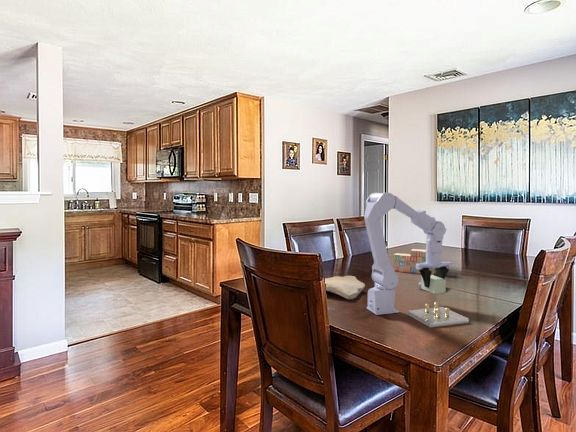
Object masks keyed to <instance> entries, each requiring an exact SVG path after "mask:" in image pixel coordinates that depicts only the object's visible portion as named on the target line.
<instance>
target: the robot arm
mask: <svg viewBox="0 0 576 432" xmlns="http://www.w3.org/2000/svg"><path fill="white" fill-rule="evenodd" d="M365 202H366V206H365V207H366V208H365V212H364V216H363V218H364V219H363V220H364V223H365V228H366V232H367V236H368V241H369V245H370V249H371V250H370V251H371V254H372V258H373V264H372V265H371V269H372V272H371V280H372V281H373V282H374V287H372V288H369V289H368V290H367V306H366V309H367V310H368V311H370V312H371V313H373V314H375V315H377V316H378V315H380V316H381V315H389V314H390V315H391V314H395V313H396V314H399V313H400V311H399V310H398V309H396V308H395V300H396V299H395V297H396V296H395V294H396V292H395V291H396V287H397V286H398V284H399V282H400V279H399V276H398V274H397V272H396V271H395V270H394V266H393V264H392V263H391V262H390V259H389V254H388V251H387V250H388V249H387V245H386V241H385V237H384V236H385V235H384V231H383V227H382V223H381V220H382V218H383V217H384V216H385V215H386V214H387V213H388V212H390V211H391V210H395V211H397V212H399V213H401V214H403V215H404V216H406V217H408V218H410V222H411V224H413V225H415V226H417V227H418V228H419V229H421V230H423V233H424V234H426V235H425V236H426V240H425V242H426V243H425V244H426V246H425V250H426V262H424V263H418V264H416V269H419V271H420V273H421V274H420V275H421V276H422V278H423V281H424V286H425V287H427V288H429V287H430V277H431V273H432V271H430V270H429V268H435V276H437V277H440V278H443V279H446V278H445V277H446V276H447V274H448V273H449V270H450V269H449V268H452V262H450V261H443V240H444V236H445V234H446V232H447V228H446V226H445V224H444V223H443V222H442V221H440V220H439V221H438V220H436V218H435V217H434V216H431V215H429V214H427V211H426V210H423V209H422V210H421V209H418V210H415V209H414V208H413V207H411V206H410V205H408V203H406V202H404V200H402V199H401V198H399V197H398V196H396V195H395V194H393V193H391V192H377V191H376V192H372V193H371V194H370V195H369V196H368V198H367V199H366V200H365Z"/></svg>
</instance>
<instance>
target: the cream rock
mask: <svg viewBox="0 0 576 432" xmlns="http://www.w3.org/2000/svg"><path fill="white" fill-rule="evenodd" d="M325 284H326V292H330V293H332V294H335V295H338V296H340V297H343V298H344V299H346V300H355V299H356V298H357V297H358V296H359V294H361V293H362V291H363V290H364V289H365V288H366V285H365V283H364V282H361V281H360V280H358V279H357V277H356V276H354V275H353V276H352V275H344V276H338V275H337V276H333V277H332V276H331V277H328V278H327V277H326V278H325ZM354 298H355V299H354Z"/></svg>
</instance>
